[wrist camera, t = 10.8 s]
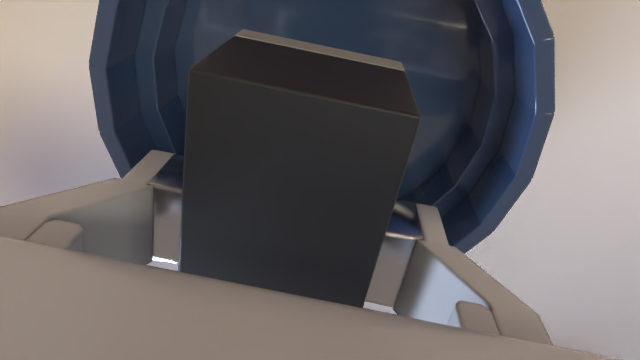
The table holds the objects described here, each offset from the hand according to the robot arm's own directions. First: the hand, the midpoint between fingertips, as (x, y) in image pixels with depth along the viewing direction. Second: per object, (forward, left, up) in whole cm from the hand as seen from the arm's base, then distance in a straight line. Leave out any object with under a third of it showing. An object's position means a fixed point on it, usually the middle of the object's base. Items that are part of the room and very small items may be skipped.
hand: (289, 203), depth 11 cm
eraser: (0, 0, -1) cm, 1 cm away
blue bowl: (0, 0, -10) cm, 10 cm away
